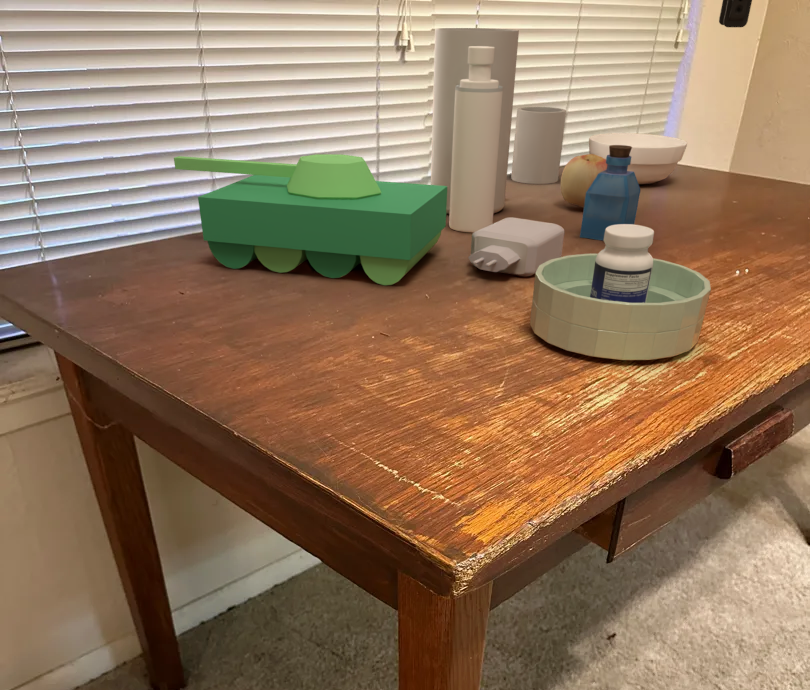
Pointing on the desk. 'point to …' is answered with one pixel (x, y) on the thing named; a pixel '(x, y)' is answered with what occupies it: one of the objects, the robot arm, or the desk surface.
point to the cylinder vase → (446, 76)
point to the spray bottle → (475, 144)
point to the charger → (516, 246)
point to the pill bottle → (624, 264)
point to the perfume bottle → (611, 195)
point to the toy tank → (318, 216)
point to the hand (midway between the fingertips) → (731, 26)
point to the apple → (580, 177)
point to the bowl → (643, 153)
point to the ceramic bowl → (618, 311)
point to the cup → (538, 144)
